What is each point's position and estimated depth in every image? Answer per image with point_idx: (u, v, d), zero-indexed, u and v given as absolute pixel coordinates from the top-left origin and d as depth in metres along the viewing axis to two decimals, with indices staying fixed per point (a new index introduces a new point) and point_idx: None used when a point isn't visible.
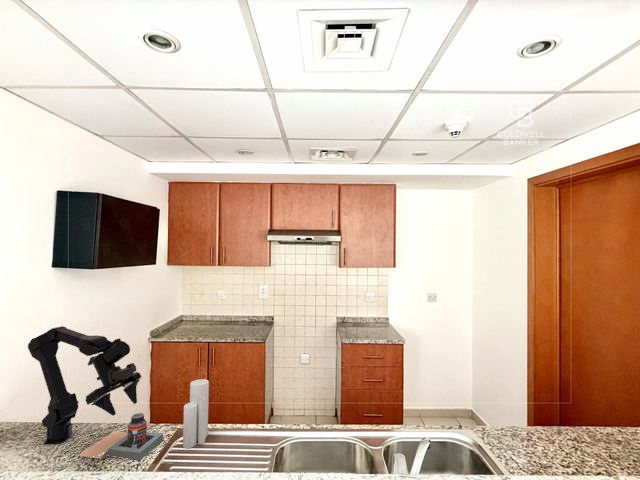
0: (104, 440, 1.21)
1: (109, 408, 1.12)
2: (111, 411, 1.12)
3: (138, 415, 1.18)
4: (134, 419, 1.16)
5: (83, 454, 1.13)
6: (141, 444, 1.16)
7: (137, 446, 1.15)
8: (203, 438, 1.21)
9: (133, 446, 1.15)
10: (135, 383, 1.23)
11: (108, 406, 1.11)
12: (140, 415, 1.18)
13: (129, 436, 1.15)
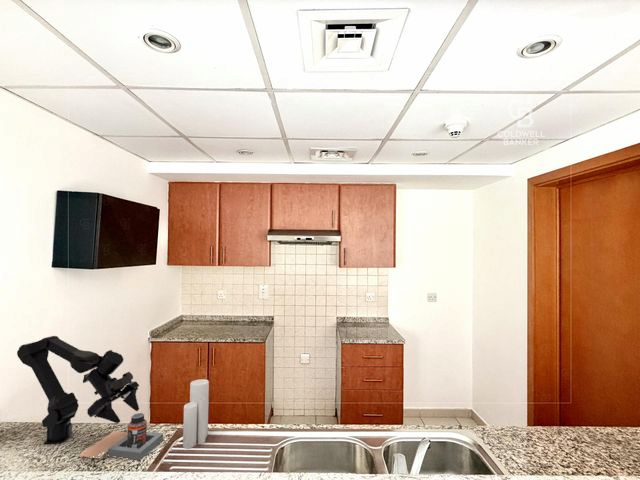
0: (104, 440, 1.21)
1: (113, 417, 1.13)
2: (115, 419, 1.14)
3: (138, 415, 1.18)
4: (134, 419, 1.16)
5: (83, 454, 1.13)
6: (141, 444, 1.16)
7: (137, 446, 1.15)
8: (203, 438, 1.21)
9: (133, 446, 1.15)
10: (134, 391, 1.25)
11: (111, 415, 1.13)
12: (140, 415, 1.18)
13: (129, 436, 1.15)
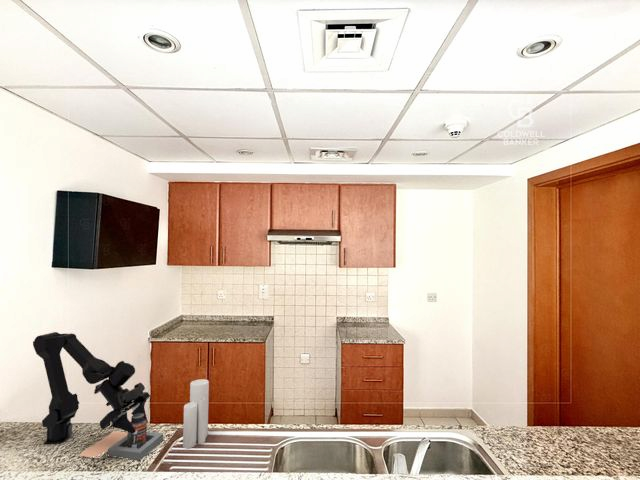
0: (104, 440, 1.21)
1: (128, 427, 1.14)
2: (131, 429, 1.14)
3: (138, 415, 1.18)
4: (134, 419, 1.16)
5: (83, 454, 1.13)
6: (141, 444, 1.16)
7: (137, 446, 1.15)
8: (203, 438, 1.21)
9: (133, 446, 1.15)
10: (143, 404, 1.23)
11: (127, 425, 1.14)
12: (140, 415, 1.18)
13: (129, 436, 1.15)
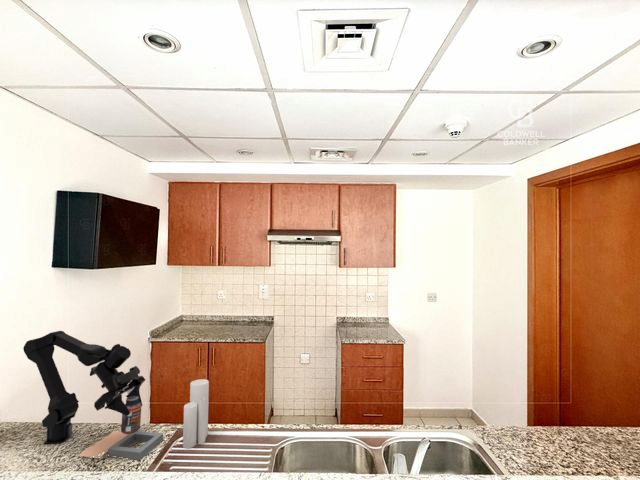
0: (104, 440, 1.21)
1: (123, 409, 1.15)
2: (125, 411, 1.15)
3: (132, 397, 1.19)
4: (129, 401, 1.17)
5: (83, 454, 1.13)
6: (135, 426, 1.17)
7: (131, 428, 1.16)
8: (203, 438, 1.21)
9: (127, 428, 1.15)
10: (137, 387, 1.23)
11: (121, 407, 1.15)
12: (135, 398, 1.19)
13: (123, 418, 1.16)
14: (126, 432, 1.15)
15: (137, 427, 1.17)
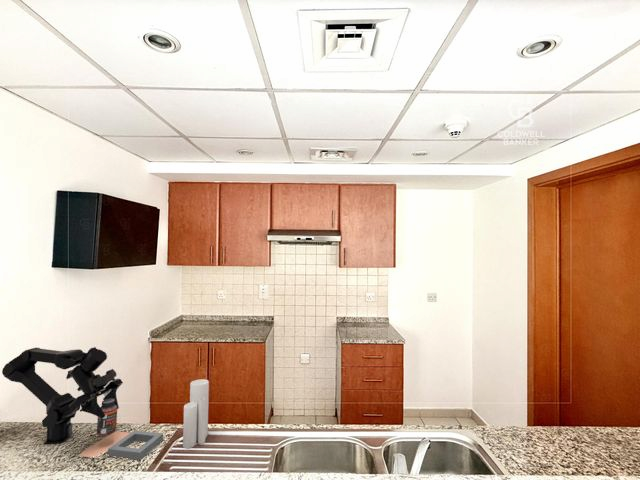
0: (104, 440, 1.21)
1: (98, 411, 1.16)
2: (100, 414, 1.16)
3: (108, 400, 1.21)
4: (104, 404, 1.18)
5: (83, 454, 1.13)
6: (111, 428, 1.18)
7: (107, 430, 1.17)
8: (203, 438, 1.21)
9: (102, 430, 1.17)
10: (114, 390, 1.25)
11: (96, 409, 1.16)
12: (110, 400, 1.20)
13: (99, 420, 1.17)
14: (101, 434, 1.17)
15: (113, 429, 1.19)
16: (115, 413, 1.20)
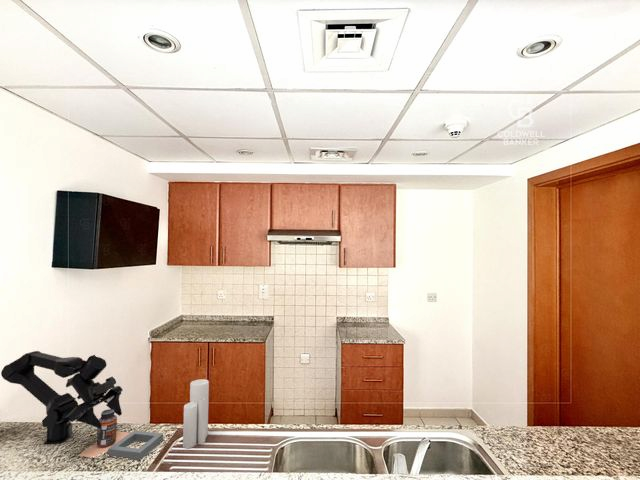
0: None
1: (94, 421, 1.15)
2: (97, 424, 1.15)
3: (108, 411, 1.20)
4: (104, 415, 1.18)
5: (83, 454, 1.13)
6: (110, 439, 1.18)
7: (106, 441, 1.17)
8: (203, 438, 1.21)
9: (102, 442, 1.17)
10: (117, 396, 1.26)
11: (93, 420, 1.14)
12: (110, 411, 1.20)
13: (98, 431, 1.17)
14: (101, 445, 1.17)
15: (112, 440, 1.19)
16: (115, 424, 1.20)
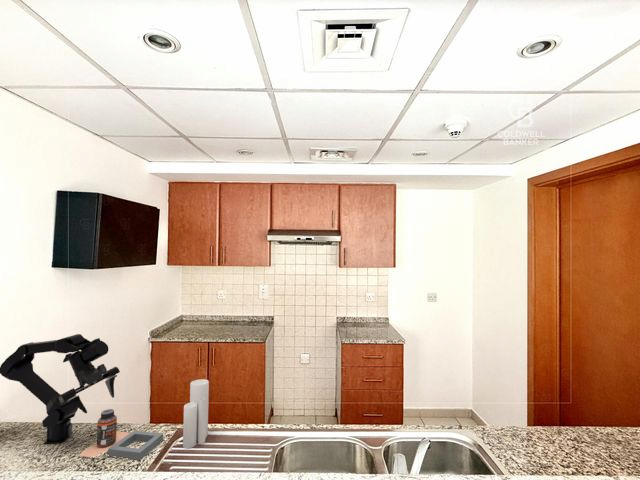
0: None
1: (80, 408, 1.18)
2: (83, 410, 1.18)
3: (108, 410, 1.20)
4: (103, 415, 1.18)
5: (83, 454, 1.13)
6: (110, 439, 1.18)
7: (106, 441, 1.17)
8: (203, 438, 1.21)
9: (102, 442, 1.17)
10: (111, 379, 1.26)
11: (79, 406, 1.18)
12: (110, 411, 1.20)
13: (98, 431, 1.17)
14: (101, 445, 1.17)
15: (112, 440, 1.19)
16: (115, 424, 1.20)
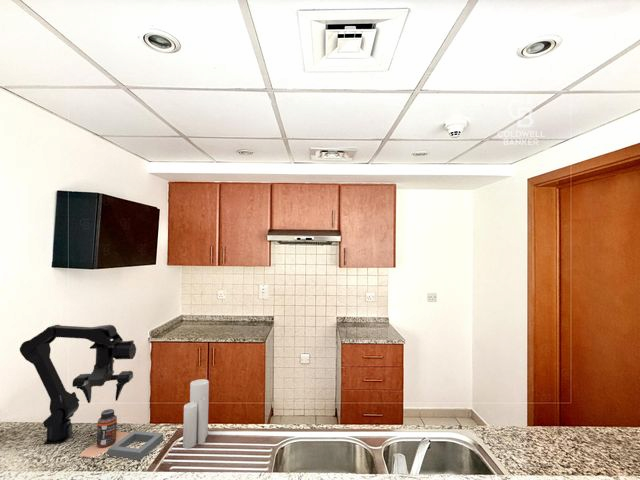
0: None
1: None
2: None
3: (108, 410, 1.21)
4: (104, 415, 1.18)
5: (83, 454, 1.13)
6: (111, 439, 1.18)
7: (106, 441, 1.17)
8: (203, 438, 1.21)
9: (102, 442, 1.17)
10: (118, 385, 1.25)
11: None
12: (110, 411, 1.20)
13: (98, 431, 1.17)
14: (101, 445, 1.17)
15: (112, 440, 1.19)
16: (115, 424, 1.20)
